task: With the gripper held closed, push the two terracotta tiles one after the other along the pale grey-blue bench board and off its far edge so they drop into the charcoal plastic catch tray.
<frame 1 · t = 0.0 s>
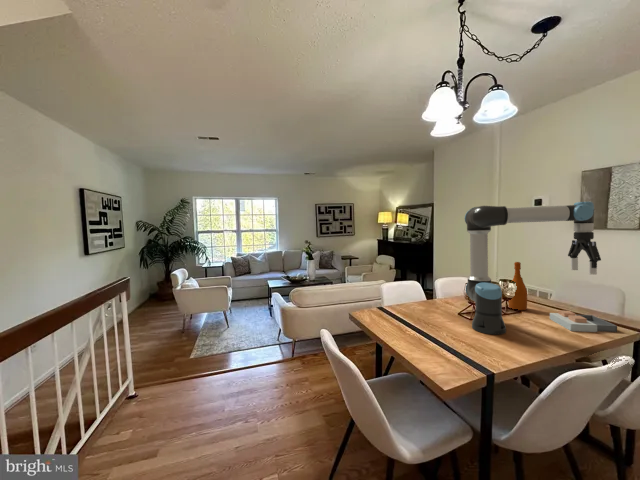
hand: (583, 272, 143), 28 cm above the table, fingers open, 13 cm apart
wine bottle: (517, 308, 175), on the table
catch tray: (594, 325, 143), on the table
tile near: (577, 320, 141), point 3 cm above the table, touching bench board
tile far: (566, 315, 149), point 3 cm above the table, touching bench board
bench board: (571, 325, 145), on the table
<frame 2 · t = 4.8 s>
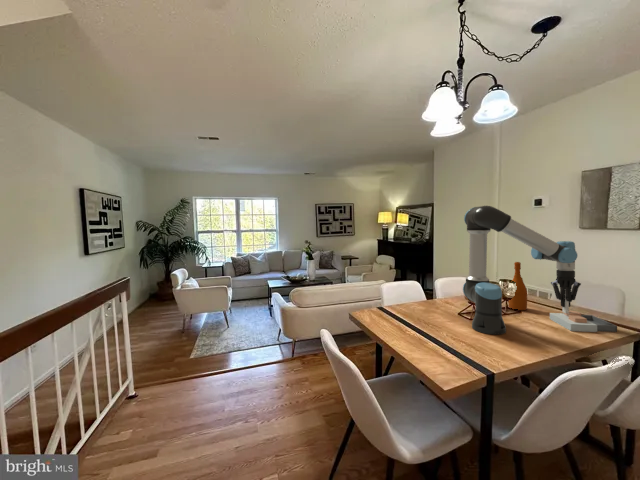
hand: (565, 312, 149), 5 cm above the table, fingers closed
tile far: (572, 315, 148), point 4 cm above the table, touching gripper
everything else where it was.
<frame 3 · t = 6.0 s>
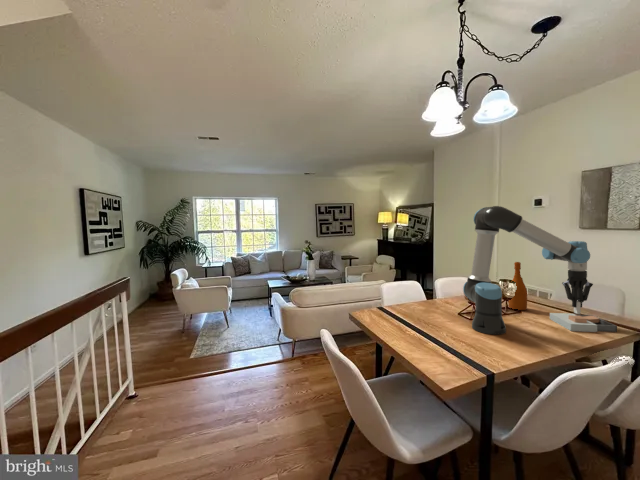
hand: (577, 313, 148), 5 cm above the table, fingers closed
tile far: (590, 317, 147), point 3 cm above the table, tilted 170°, touching catch tray
everything else where it was.
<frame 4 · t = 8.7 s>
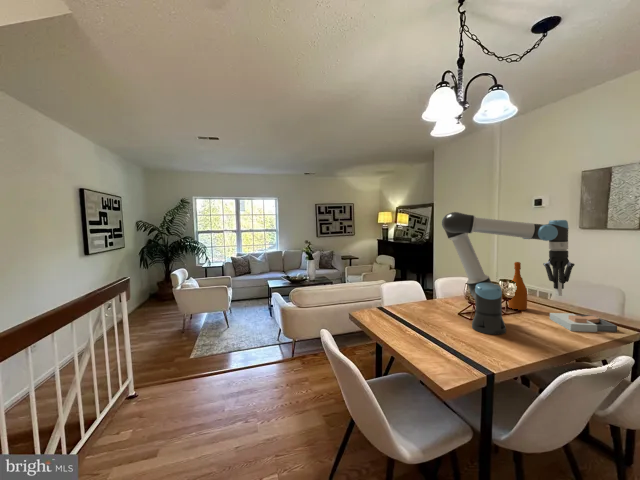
hand: (558, 295, 142), 17 cm above the table, fingers closed
nothing on the table moved.
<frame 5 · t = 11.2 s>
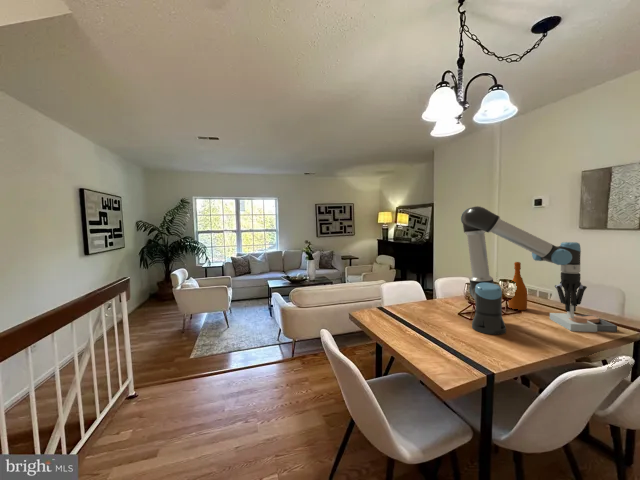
hand: (570, 317, 141), 5 cm above the table, fingers closed
tile near: (577, 320, 141), point 3 cm above the table, touching bench board, gripper
everything else where it was.
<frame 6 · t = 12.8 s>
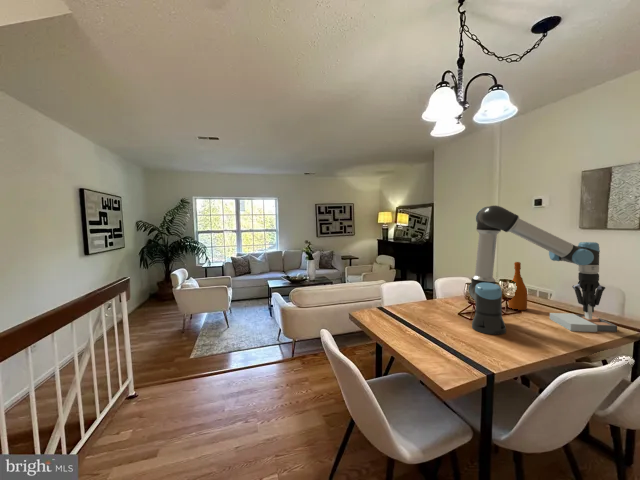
hand: (588, 318, 140), 5 cm above the table, fingers closed
tile near: (602, 323, 138), point 2 cm above the table, tilted 180°, touching catch tray
everything else where it was.
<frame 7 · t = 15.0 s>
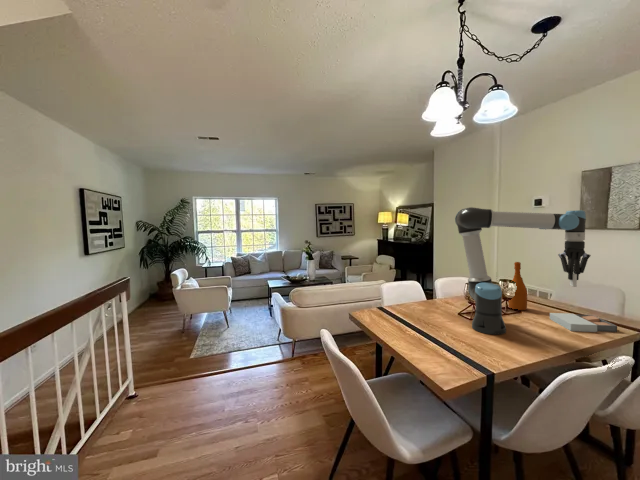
hand: (573, 286, 141), 21 cm above the table, fingers closed
nothing on the table moved.
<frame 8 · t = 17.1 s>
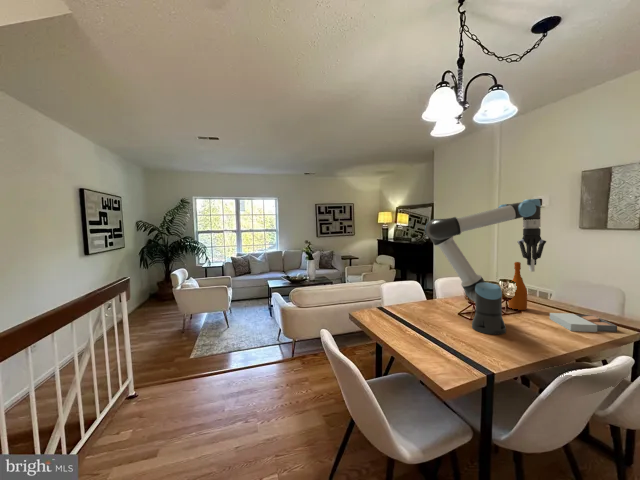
hand: (531, 271, 149), 28 cm above the table, fingers closed
nothing on the table moved.
at the end: tile far inside the target area (4.3 cm from its centre), point 2.8 cm above the table; tile near inside the target area (4.4 cm from its centre), point 2.4 cm above the table; tile near touching catch tray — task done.
